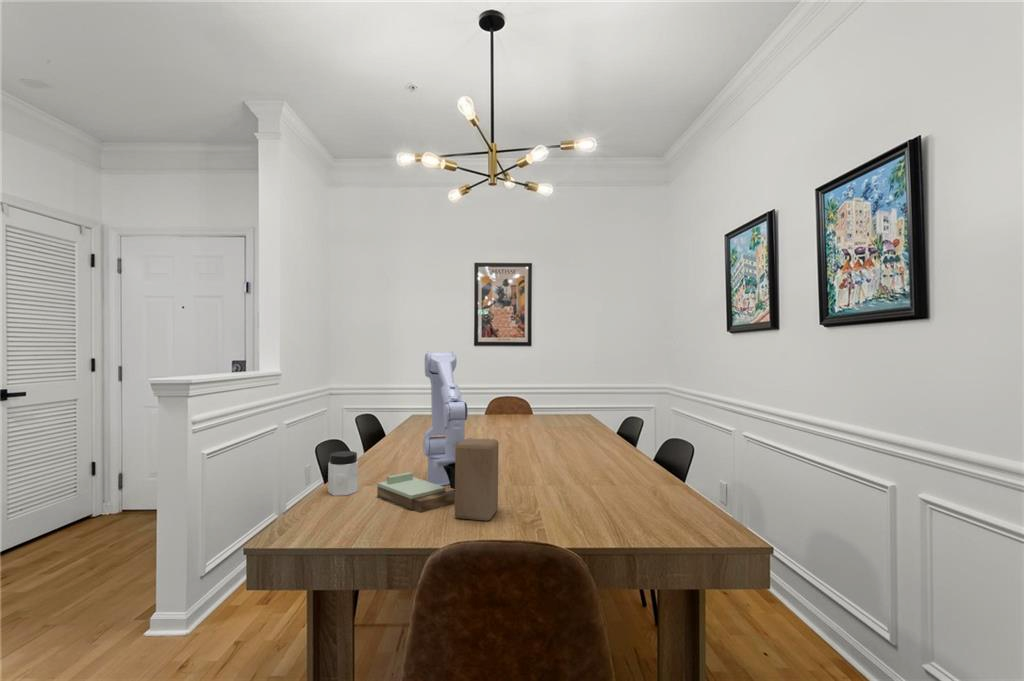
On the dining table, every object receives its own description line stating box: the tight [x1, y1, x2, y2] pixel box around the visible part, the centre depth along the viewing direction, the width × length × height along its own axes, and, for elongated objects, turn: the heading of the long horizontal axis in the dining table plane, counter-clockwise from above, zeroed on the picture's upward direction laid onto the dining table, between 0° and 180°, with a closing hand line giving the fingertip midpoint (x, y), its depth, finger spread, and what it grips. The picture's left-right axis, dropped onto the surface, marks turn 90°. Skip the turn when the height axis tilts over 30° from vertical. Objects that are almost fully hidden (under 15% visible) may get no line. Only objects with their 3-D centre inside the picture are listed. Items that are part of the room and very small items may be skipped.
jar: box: [327, 450, 359, 497], centre depth 160 cm, size 9×8×12 cm
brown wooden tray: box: [376, 486, 455, 513], centre depth 154 cm, size 18×21×3 cm
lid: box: [377, 471, 447, 499], centre depth 153 cm, size 12×18×3 cm, turn 45°
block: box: [454, 437, 499, 522], centre depth 139 cm, size 10×10×20 cm
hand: (454, 488), depth 151 cm, fingers closed
